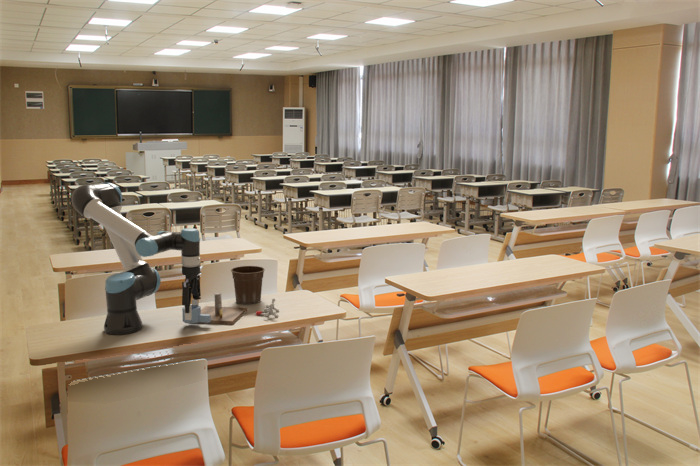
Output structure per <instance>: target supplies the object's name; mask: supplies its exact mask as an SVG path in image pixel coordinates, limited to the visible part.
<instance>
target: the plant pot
mask: <svg viewBox="0 0 700 466" xmlns="http://www.w3.org/2000/svg"><path fill="white" fill-rule="evenodd" d="M265 270H266V269H265V268H264V267H263V266H258V265H240V266H236V267H233V268H231V269H230V272H231V273H232V279H233V283H234V284H233V285H234V294H235V295H234V296H235V301H236V303H238V304H241V305H253V304H254V303H255V304H257V303H260V302H261V301H262V291H263V290H262V288H263V279H264V273H265Z"/></svg>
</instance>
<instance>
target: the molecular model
mask: <svg viewBox="0 0 700 466" xmlns="http://www.w3.org/2000/svg"><path fill="white" fill-rule="evenodd" d="M275 301H276V299H275V298H274V297H273V298H271V303H270V304H266V305H265V308H264V309H263V310H257V311H256V312H255V315H256V316H260V315H263V316H264V317H266V318H267V317H268V315H272V316H274V317H275V318H278V317H279V315H278V314H276V313H279V312H280V309H278V308H276V307H275V304H274V303H275ZM274 311H275V312H276V313H275V312H274Z"/></svg>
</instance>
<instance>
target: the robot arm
mask: <svg viewBox="0 0 700 466" xmlns="http://www.w3.org/2000/svg"><path fill="white" fill-rule="evenodd" d="M122 201H123V194H122V191H121V189H120V188H119V187H118V186H117V185H116V184H114V183H112V182H102V181H101V182H98V183H91V184H82V185H80V186H78V187H76V188H75V189H74V191H72V194H71V204H72V206H73V208H74V210H75V211H76V212H77V213H78V214H79V215H81V216H83V217H85V219H92V220H93V221H95V222H96V223H98V224H100V225H101V226H103V227H104V229H105V231H106V233H107V235H108V237H109V240H110V242H111V243H112V246H113V248H114V250H115V253H116V255H117V257H118V258H119V261H120V263H121V266H122V268H123V271H122V272H119V273H114V274H111V275H109V276H108V277H107V278H106V280H105V286H104V287H105V288H104V290H105V300H106V309H107V310H106V311H107V314H106V317H105V321H104V325H103V331H104V333H105V334H107V335H114V336H115V335H116V336H117V335H118V336H120V335H128V334H133V333H136V332H138V331H141V329H143V321H142V319H141V317H140V315H139V312H138V308H137V306H138V305H137V301H138V300H141V299H143V298H146V297H149V296H151V295H153V294H154V293H156V292H158V290H159V289H160V286H161V281H162V280H161V275H160V273H159V272H158V270H157V269H155V268H153V267H151V266H150V264H149V262H148V261H145V260H143V258H144V257H146V258H147V257H152V256H155V255H157V254H161V253H164V252H167V251H171V250H173V251H174V250H175V251H181V252H180V253H181V265H182V266H181V274H182V275H183V276H184V281H182V282H181V287H182V291H181V292H182V293H181V305H182V306H185V320H192V310H191V305H198V306H200V304H199V300H201V298H202V297H201V295H202V294H201V275H200V274H201V265H200V263H201V259H202V258H201V253H200V252H201V251H200V240H201V238H200V230H199V229H197V228H191V227H190V228H189V227H188V228H187V227H186V228H182V229H181V230H180V232H178V231H175V232H174V231H168V230H164V231H163V230H161V231H160V230H159V231H158V232H157V233H156V234H155V235H153V234H151V233H149V232H147V231H146V230H145V229H142V228H141V227H140V226H138V225H136V224H135V223H133V222H132V221H130V220H129V219H127V218H126V217H124V216H123V214H122V213H121V212H122V211H121V210H122V208H123V206H122ZM142 257H143V258H142Z"/></svg>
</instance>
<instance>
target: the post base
mask: <svg viewBox="0 0 700 466" xmlns="http://www.w3.org/2000/svg"><path fill="white" fill-rule="evenodd" d="M213 297H214V306H210V305H205V306H204V307H202V308H201V314H208V315H211V322H209V323H207V322H197V323H196V324H213V325H217V324H218V325H234V324H235V323H236V322H237V321H238V320H239V319H240V318H241V317H242V316H243V315H244V314H246V312H247V311H248V310H247V309H248V307H237V306H223V305H222V293H220V292H217V293H216V292H215V293H214V296H213ZM220 309H222V316H223V317H222V318H220Z"/></svg>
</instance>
